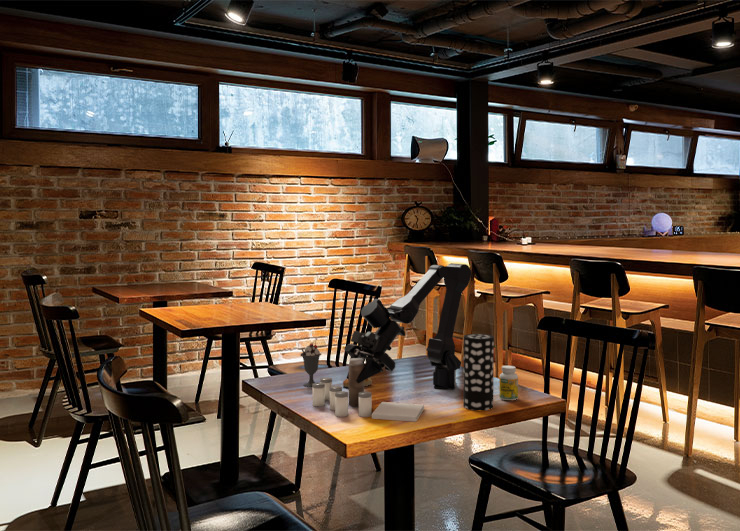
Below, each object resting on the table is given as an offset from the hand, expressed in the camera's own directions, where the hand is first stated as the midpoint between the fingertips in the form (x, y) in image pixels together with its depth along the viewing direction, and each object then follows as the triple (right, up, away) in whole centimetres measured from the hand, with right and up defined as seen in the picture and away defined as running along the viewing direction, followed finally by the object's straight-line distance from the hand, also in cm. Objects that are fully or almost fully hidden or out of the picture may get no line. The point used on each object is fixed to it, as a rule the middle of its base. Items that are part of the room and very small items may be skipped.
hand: (352, 380), depth 185 cm
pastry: (+1, -6, +24) cm, 24 cm away
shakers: (-4, -7, -3) cm, 9 cm away
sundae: (-14, -6, +24) cm, 28 cm away
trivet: (+13, -8, -8) cm, 17 cm away
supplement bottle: (+46, -7, +6) cm, 47 cm away
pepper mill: (+1, -7, +1) cm, 7 cm away
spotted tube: (+36, -7, -1) cm, 36 cm away
